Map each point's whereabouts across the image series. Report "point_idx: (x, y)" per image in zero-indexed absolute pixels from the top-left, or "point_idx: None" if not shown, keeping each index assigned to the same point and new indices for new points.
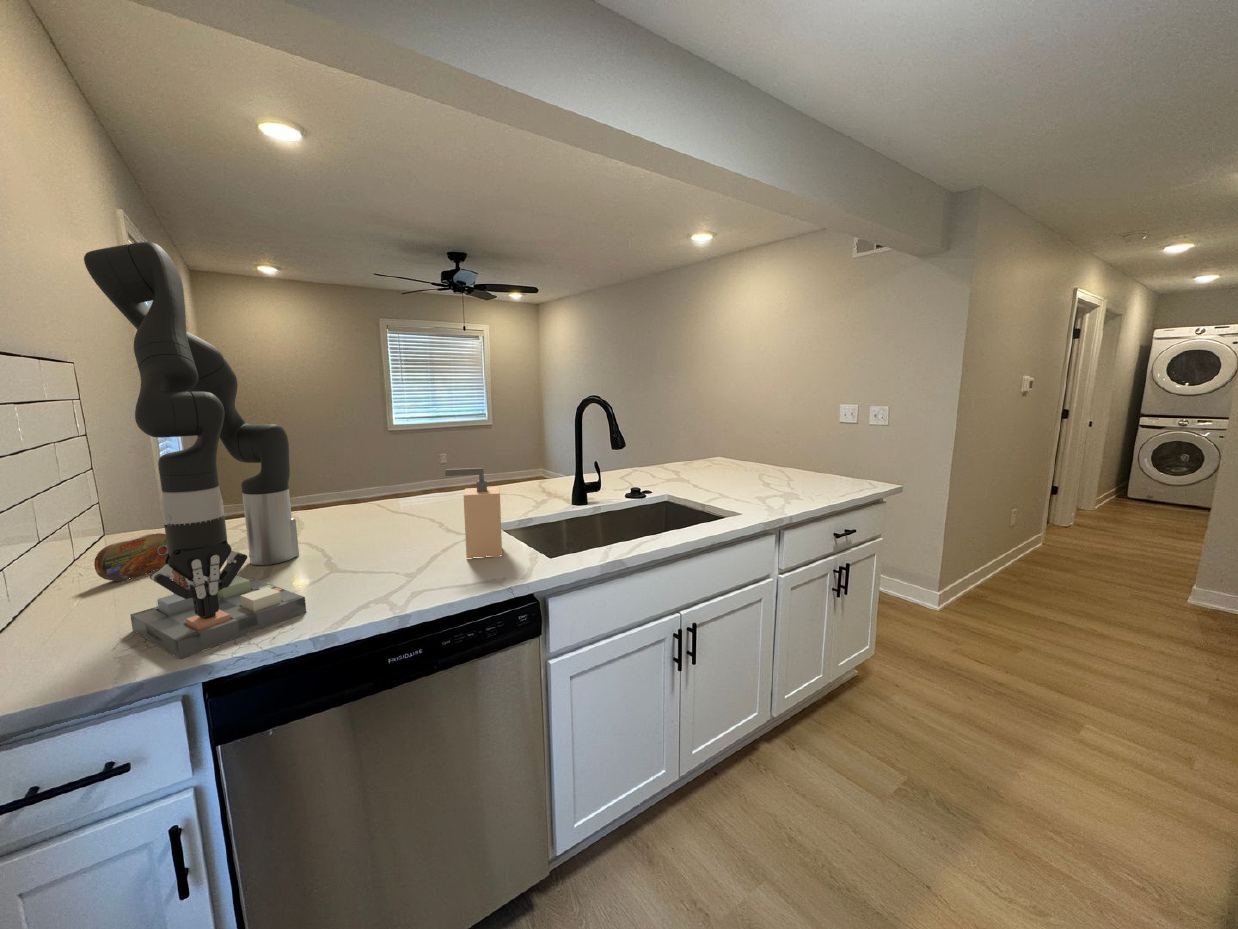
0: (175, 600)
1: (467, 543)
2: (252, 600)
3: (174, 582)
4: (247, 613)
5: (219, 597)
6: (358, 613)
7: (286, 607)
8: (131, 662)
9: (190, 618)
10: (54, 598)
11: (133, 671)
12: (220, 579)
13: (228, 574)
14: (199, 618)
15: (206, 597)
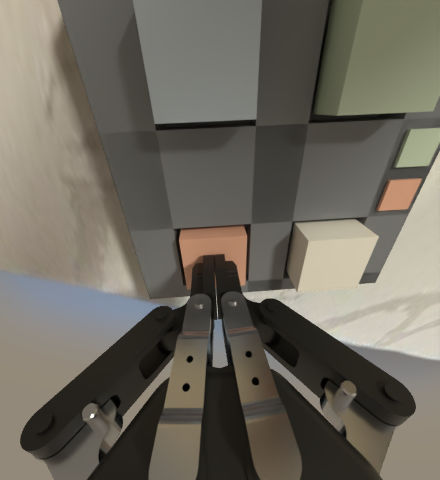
0: (182, 100)
1: None
2: (297, 290)
3: (126, 410)
4: (274, 276)
5: (322, 70)
6: (368, 316)
7: None
8: (92, 226)
9: (186, 245)
10: None
11: (97, 261)
12: (271, 330)
13: (287, 367)
14: (199, 260)
15: (214, 319)
